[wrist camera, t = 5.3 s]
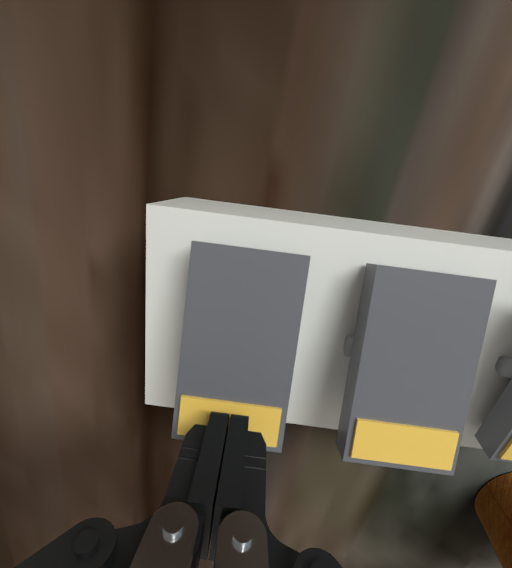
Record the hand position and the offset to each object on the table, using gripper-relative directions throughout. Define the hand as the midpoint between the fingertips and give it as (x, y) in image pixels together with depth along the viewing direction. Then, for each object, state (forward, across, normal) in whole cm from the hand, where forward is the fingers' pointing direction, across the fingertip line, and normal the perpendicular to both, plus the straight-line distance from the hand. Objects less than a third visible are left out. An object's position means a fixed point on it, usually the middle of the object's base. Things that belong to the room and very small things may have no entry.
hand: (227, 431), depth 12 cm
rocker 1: (+2, 0, -3) cm, 3 cm away
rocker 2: (+2, -7, -3) cm, 8 cm away
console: (+9, -7, -3) cm, 12 cm away
